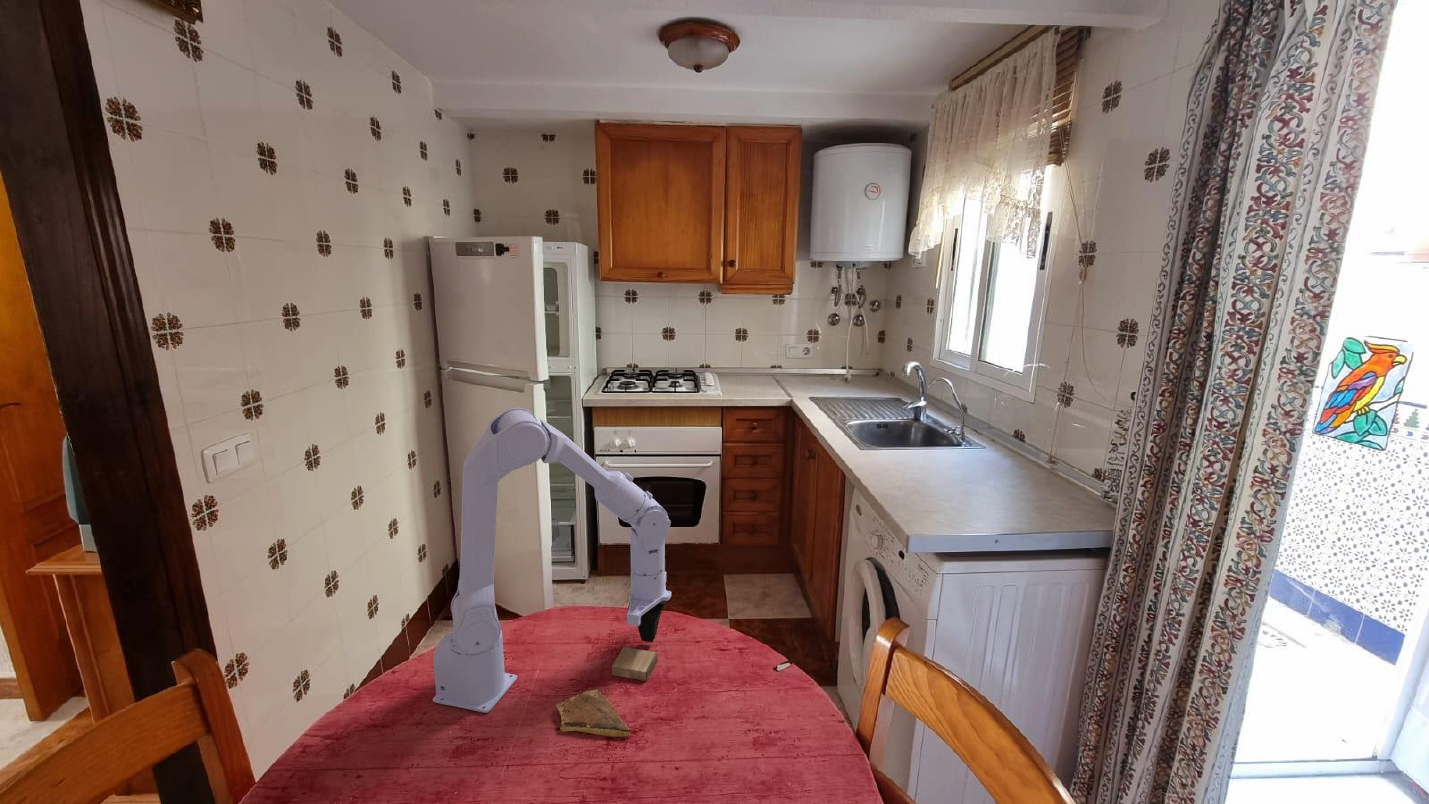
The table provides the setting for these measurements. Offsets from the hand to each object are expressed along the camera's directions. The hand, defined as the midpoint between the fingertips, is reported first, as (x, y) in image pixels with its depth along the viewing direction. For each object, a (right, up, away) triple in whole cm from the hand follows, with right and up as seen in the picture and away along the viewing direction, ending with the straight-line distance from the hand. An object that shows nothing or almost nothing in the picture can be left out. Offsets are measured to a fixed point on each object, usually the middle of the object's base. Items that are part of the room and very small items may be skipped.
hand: (648, 639), depth 99 cm
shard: (-6, -5, -16) cm, 17 cm away
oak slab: (-4, -1, -5) cm, 7 cm away
